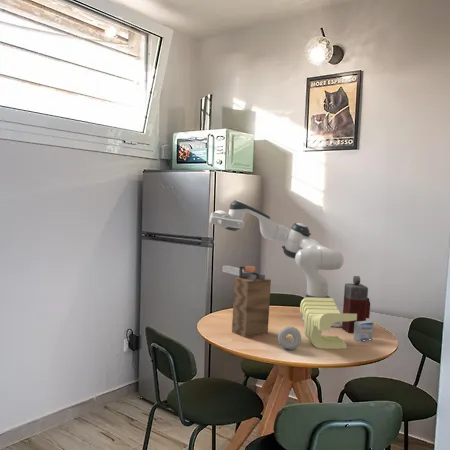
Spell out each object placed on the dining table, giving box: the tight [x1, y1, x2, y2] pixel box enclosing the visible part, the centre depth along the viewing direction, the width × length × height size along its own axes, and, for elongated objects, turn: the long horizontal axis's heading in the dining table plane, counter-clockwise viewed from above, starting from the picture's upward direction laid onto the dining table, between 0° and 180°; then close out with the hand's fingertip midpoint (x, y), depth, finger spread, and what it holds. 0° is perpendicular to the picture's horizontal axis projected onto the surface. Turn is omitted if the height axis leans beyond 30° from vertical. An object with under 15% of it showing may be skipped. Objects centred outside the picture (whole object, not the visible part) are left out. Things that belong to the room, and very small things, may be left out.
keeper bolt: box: [221, 265, 256, 277], centre depth 222 cm, size 20×6×5 cm, turn 37°
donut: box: [277, 326, 302, 351], centre depth 192 cm, size 10×4×10 cm, turn 89°
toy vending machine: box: [341, 275, 371, 334], centre depth 226 cm, size 9×11×28 cm
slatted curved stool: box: [299, 297, 357, 349], centre depth 203 cm, size 30×16×18 cm, turn 6°
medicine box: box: [353, 320, 374, 342], centre depth 212 cm, size 8×4×9 cm, turn 117°
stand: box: [231, 265, 272, 338], centre depth 213 cm, size 10×14×31 cm
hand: (230, 224), depth 250 cm, fingers open, 8 cm apart
